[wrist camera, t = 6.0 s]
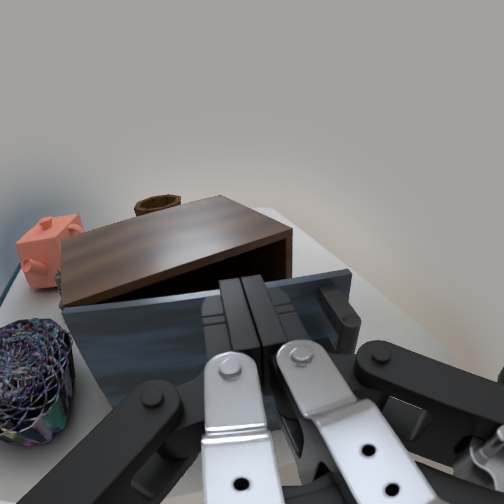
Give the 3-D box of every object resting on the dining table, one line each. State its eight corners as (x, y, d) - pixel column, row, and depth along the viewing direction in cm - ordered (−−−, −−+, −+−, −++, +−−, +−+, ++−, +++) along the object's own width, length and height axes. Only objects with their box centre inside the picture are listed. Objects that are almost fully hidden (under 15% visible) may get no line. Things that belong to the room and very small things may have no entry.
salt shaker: (73, 325, 57) (54, 278, 51) (59, 318, 59) (41, 273, 53) (90, 310, 61) (74, 264, 56) (76, 304, 64) (60, 260, 58)
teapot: (77, 307, 63) (52, 238, 54) (11, 310, 61) (-14, 250, 52) (104, 257, 85) (90, 201, 76) (46, 264, 83) (30, 213, 74)
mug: (157, 240, 93) (148, 194, 86) (196, 242, 90) (189, 193, 83) (123, 272, 76) (110, 220, 69) (167, 277, 73) (156, 220, 66)
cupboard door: (339, 450, 32) (385, 311, 21) (139, 481, 28) (41, 359, 17) (323, 412, 38) (348, 268, 27) (139, 440, 34) (64, 307, 23)
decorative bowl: (89, 344, 54) (71, 303, 50) (105, 451, 32) (72, 408, 28) (-6, 370, 44) (-27, 333, 40) (-21, 471, 21) (-60, 431, 17)
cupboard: (289, 368, 46) (292, 228, 35) (138, 439, 34) (61, 305, 23) (232, 313, 60) (220, 194, 49) (108, 361, 48) (60, 239, 37)
